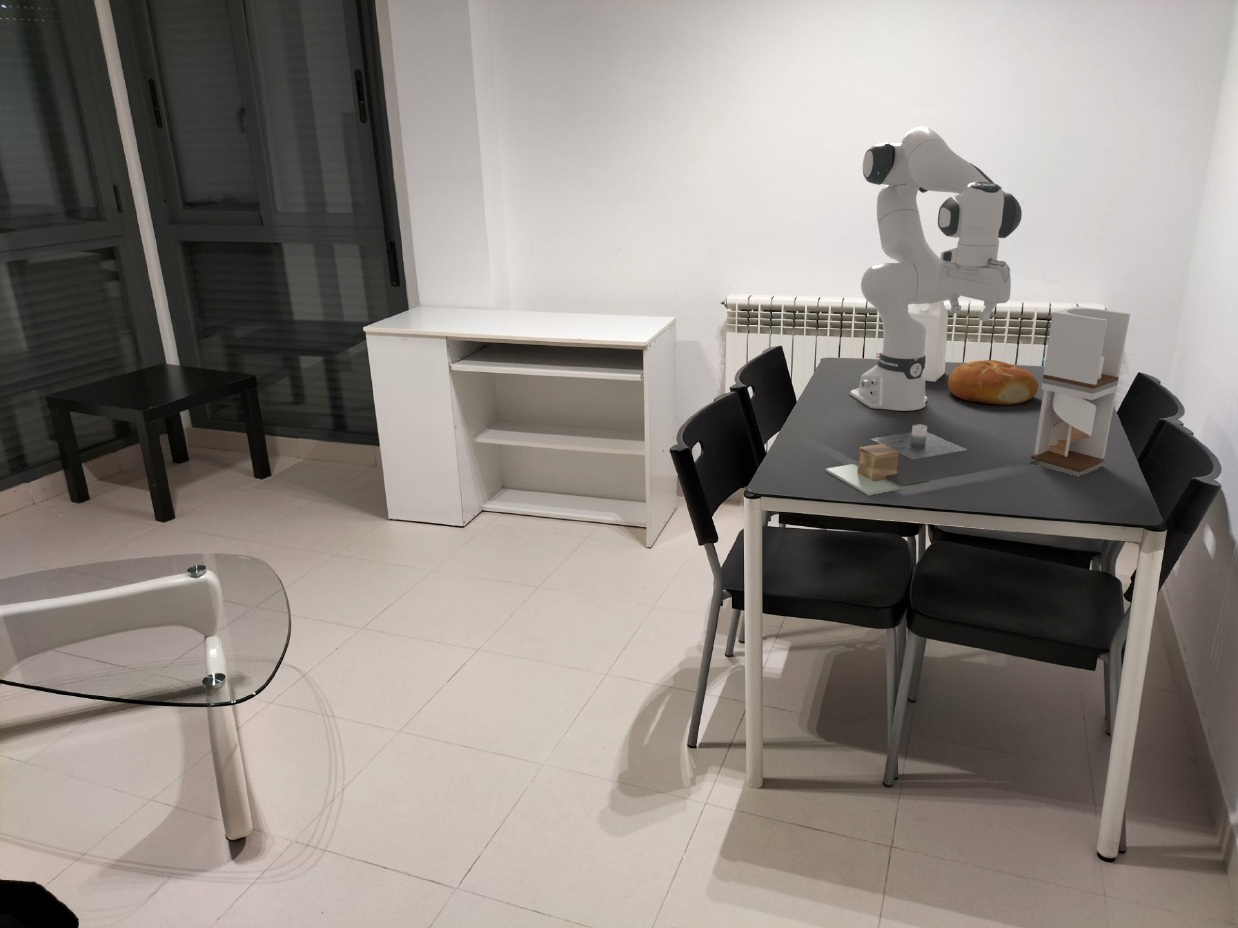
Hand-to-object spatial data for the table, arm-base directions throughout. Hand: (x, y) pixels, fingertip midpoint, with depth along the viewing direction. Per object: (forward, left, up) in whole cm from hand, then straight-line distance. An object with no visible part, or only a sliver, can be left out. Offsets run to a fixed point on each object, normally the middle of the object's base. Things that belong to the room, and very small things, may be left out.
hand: (969, 316), depth 215 cm
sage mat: (+12, -32, -31) cm, 46 cm away
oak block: (+12, -32, -30) cm, 46 cm away
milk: (-55, +34, -31) cm, 72 cm away
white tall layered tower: (+23, +12, -31) cm, 41 cm away
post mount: (+1, -12, -31) cm, 33 cm away
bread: (-27, +36, -32) cm, 55 cm away
